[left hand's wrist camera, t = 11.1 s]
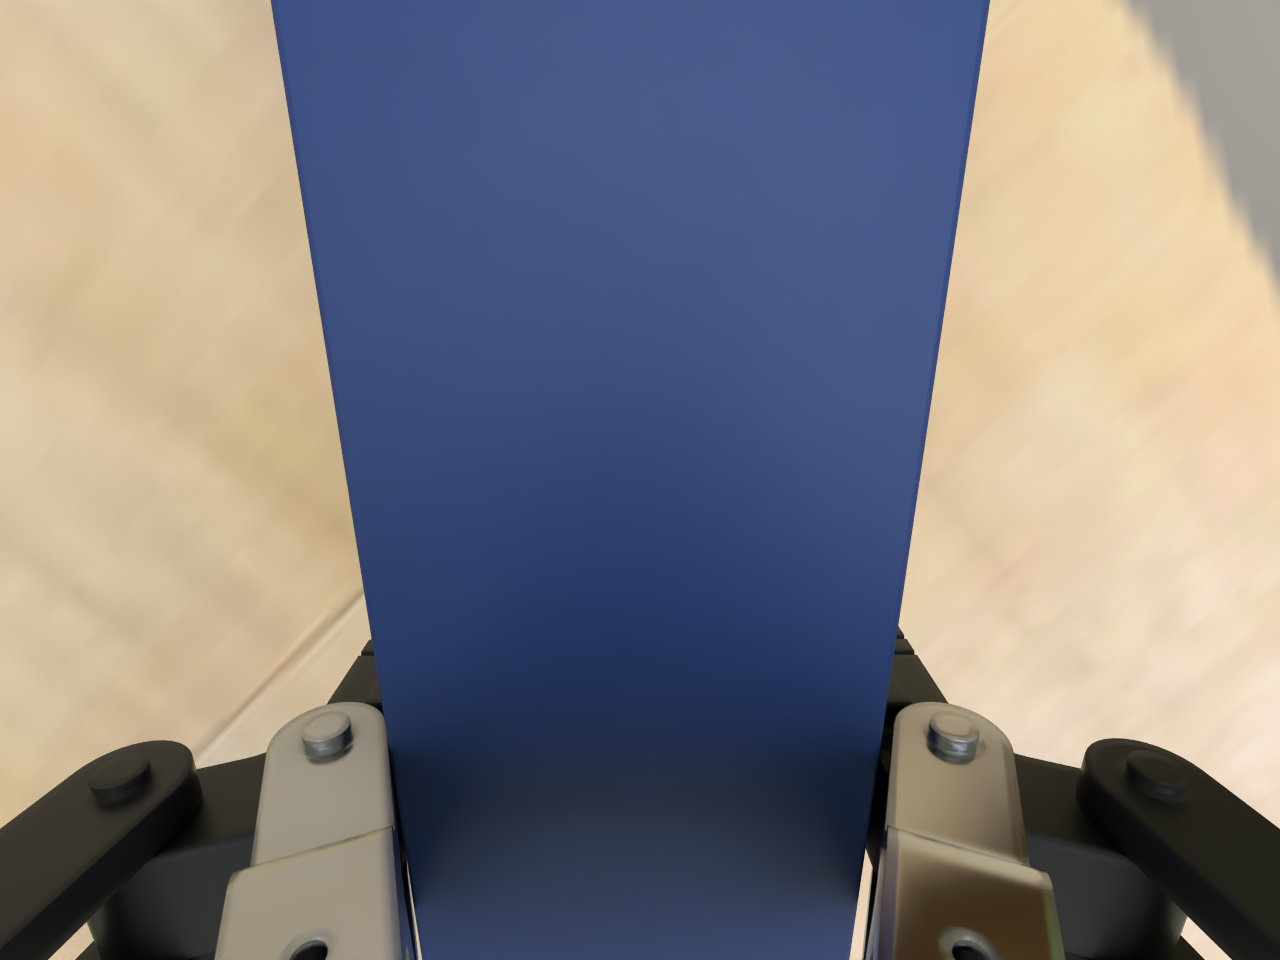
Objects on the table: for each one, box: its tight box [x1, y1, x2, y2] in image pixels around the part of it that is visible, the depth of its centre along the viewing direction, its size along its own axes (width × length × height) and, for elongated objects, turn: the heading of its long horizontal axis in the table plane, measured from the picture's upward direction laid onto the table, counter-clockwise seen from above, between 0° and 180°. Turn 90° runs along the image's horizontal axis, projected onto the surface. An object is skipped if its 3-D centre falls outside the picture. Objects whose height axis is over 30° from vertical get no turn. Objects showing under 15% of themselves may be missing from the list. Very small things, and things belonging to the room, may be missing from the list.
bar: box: [271, 0, 990, 960], centre depth 9 cm, size 24×5×8 cm, turn 0°
